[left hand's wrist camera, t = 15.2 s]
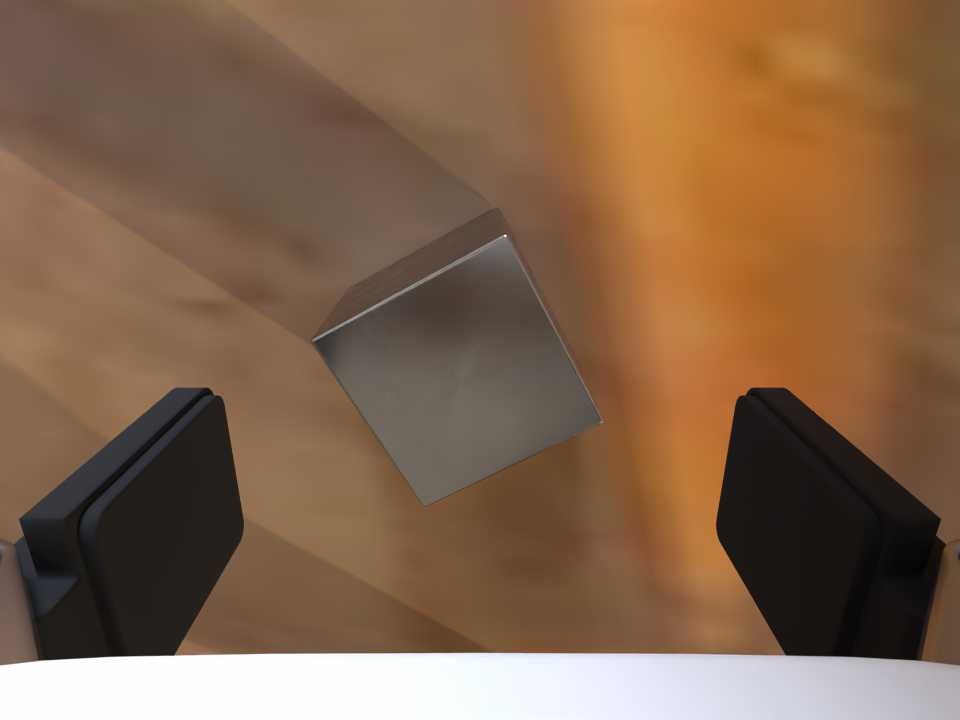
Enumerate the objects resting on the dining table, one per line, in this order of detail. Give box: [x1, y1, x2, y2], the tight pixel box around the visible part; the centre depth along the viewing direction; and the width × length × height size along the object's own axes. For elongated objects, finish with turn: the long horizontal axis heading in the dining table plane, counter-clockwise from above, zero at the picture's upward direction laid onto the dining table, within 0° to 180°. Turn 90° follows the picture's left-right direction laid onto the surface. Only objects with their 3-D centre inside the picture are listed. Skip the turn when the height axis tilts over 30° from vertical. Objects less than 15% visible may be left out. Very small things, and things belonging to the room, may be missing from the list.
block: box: [311, 208, 604, 506], centre depth 16 cm, size 5×5×5 cm
